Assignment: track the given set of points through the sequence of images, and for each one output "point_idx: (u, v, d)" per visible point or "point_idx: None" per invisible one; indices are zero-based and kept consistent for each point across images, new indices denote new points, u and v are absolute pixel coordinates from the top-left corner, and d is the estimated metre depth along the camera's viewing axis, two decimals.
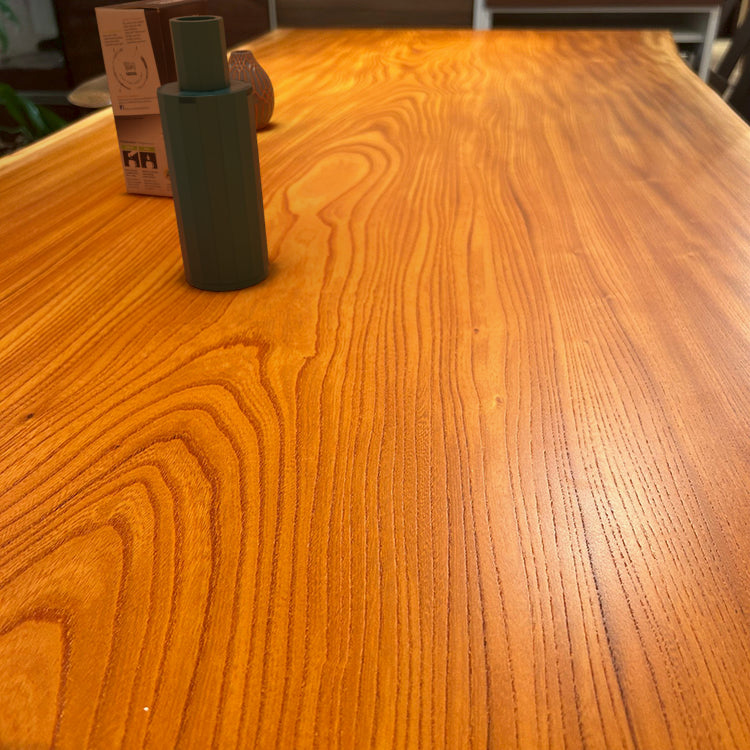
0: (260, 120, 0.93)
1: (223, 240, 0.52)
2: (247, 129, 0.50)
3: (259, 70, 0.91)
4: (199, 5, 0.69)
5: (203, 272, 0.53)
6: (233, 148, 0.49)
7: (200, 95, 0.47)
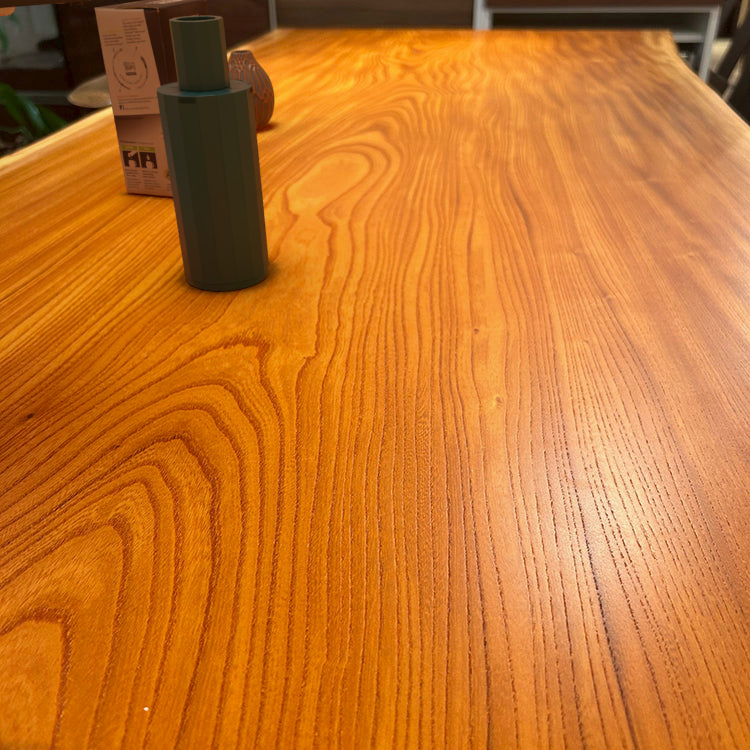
0: (260, 120, 0.93)
1: (223, 240, 0.52)
2: (247, 129, 0.50)
3: (259, 70, 0.91)
4: (199, 5, 0.69)
5: (203, 272, 0.53)
6: (233, 148, 0.49)
7: (200, 95, 0.47)
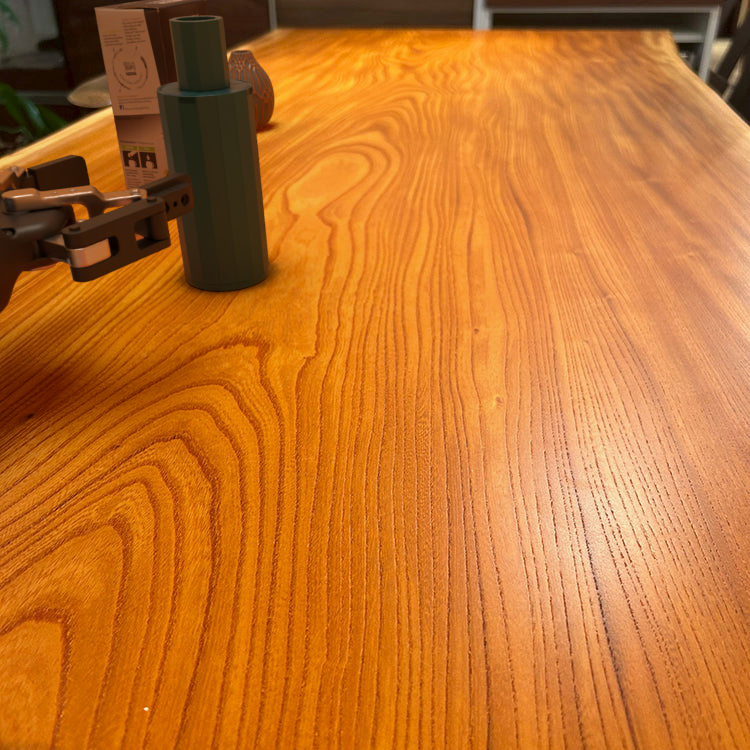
0: (260, 120, 0.93)
1: (223, 240, 0.52)
2: (247, 129, 0.50)
3: (259, 70, 0.91)
4: (199, 5, 0.69)
5: (203, 272, 0.53)
6: (233, 148, 0.49)
7: (200, 95, 0.47)
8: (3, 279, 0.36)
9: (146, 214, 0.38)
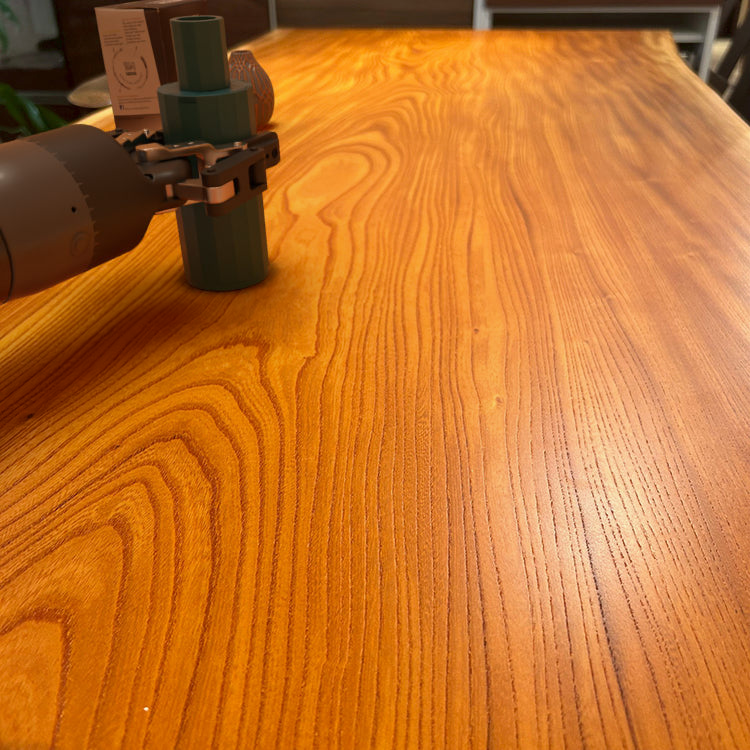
0: (260, 120, 0.93)
1: (223, 240, 0.52)
2: (247, 129, 0.50)
3: (259, 70, 0.91)
4: (199, 5, 0.70)
5: (203, 271, 0.53)
6: None
7: (200, 95, 0.47)
8: (143, 216, 0.43)
9: (255, 160, 0.46)
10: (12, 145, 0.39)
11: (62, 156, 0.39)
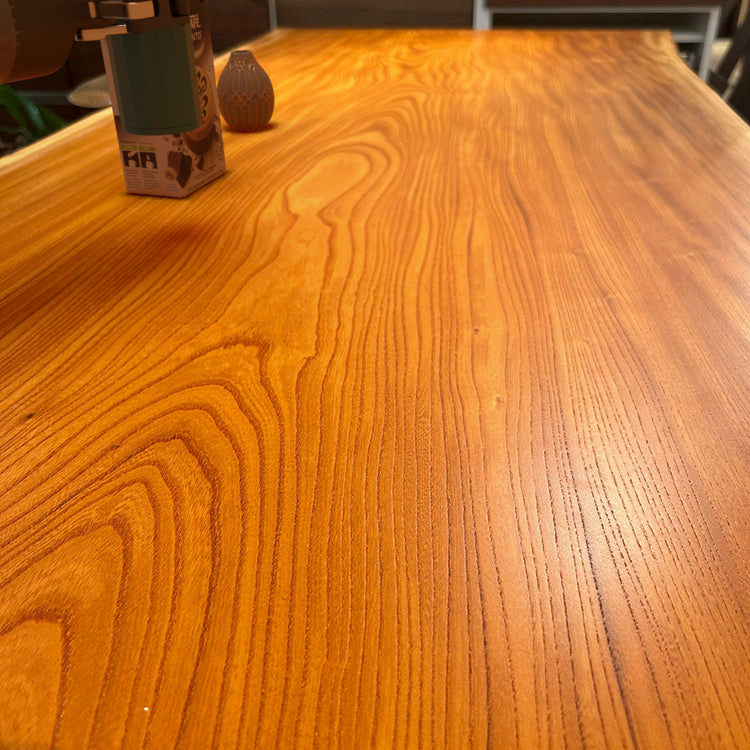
0: (260, 120, 0.93)
1: (153, 82, 0.55)
2: None
3: (259, 70, 0.91)
4: None
5: (136, 116, 0.56)
6: None
7: None
8: (66, 29, 0.46)
9: None
10: None
11: None
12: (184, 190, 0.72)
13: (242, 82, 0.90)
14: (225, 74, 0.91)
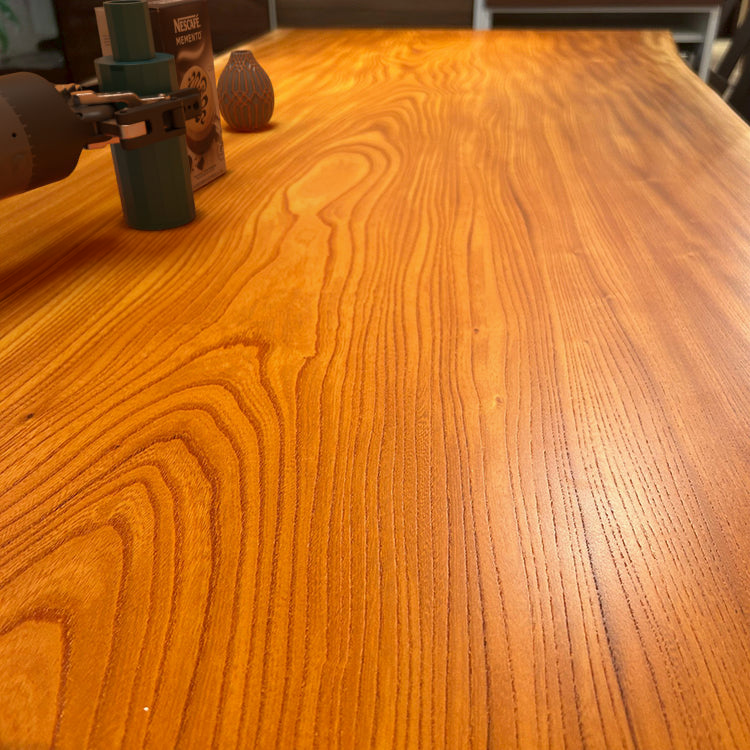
0: (260, 120, 0.93)
1: (152, 186, 0.63)
2: None
3: (259, 70, 0.91)
4: (199, 5, 0.70)
5: (137, 214, 0.64)
6: None
7: (128, 64, 0.58)
8: (74, 146, 0.53)
9: (170, 107, 0.56)
10: None
11: (5, 94, 0.50)
12: None
13: (242, 82, 0.90)
14: (225, 74, 0.91)
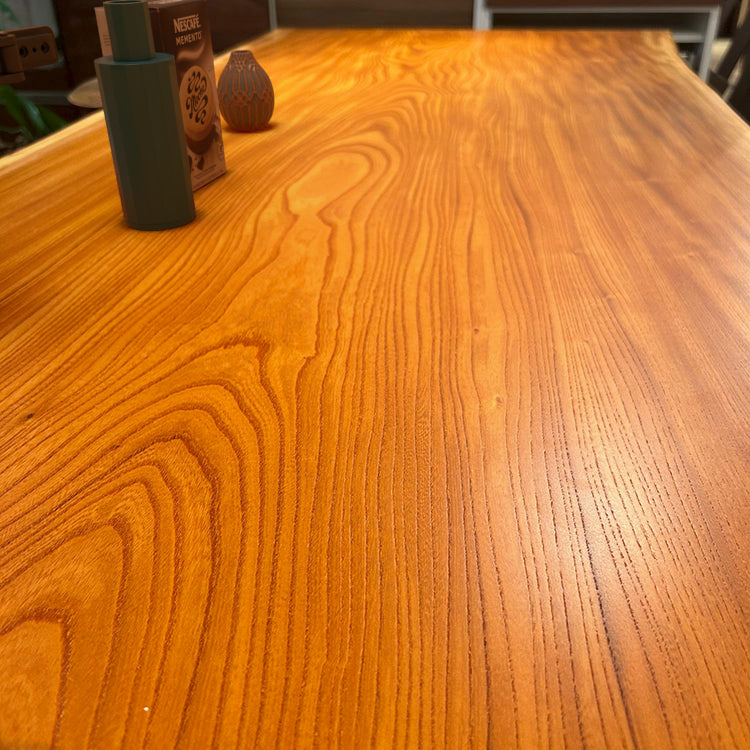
0: (260, 120, 0.93)
1: (152, 186, 0.63)
2: (169, 93, 0.60)
3: (259, 70, 0.91)
4: (199, 5, 0.69)
5: (137, 214, 0.64)
6: (157, 108, 0.60)
7: (128, 64, 0.58)
8: None
9: None
10: None
11: None
12: None
13: (242, 82, 0.90)
14: (225, 74, 0.91)
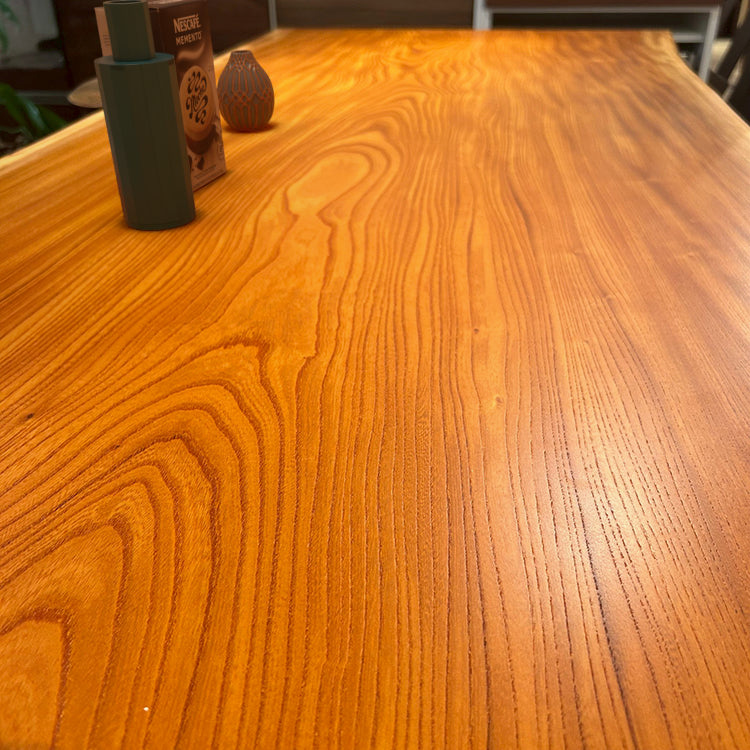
0: (260, 120, 0.93)
1: (152, 186, 0.63)
2: (169, 93, 0.60)
3: (259, 70, 0.91)
4: (199, 5, 0.69)
5: (137, 214, 0.64)
6: (157, 108, 0.60)
7: (128, 64, 0.58)
8: None
9: None
10: None
11: None
12: None
13: (242, 82, 0.90)
14: (225, 74, 0.91)
